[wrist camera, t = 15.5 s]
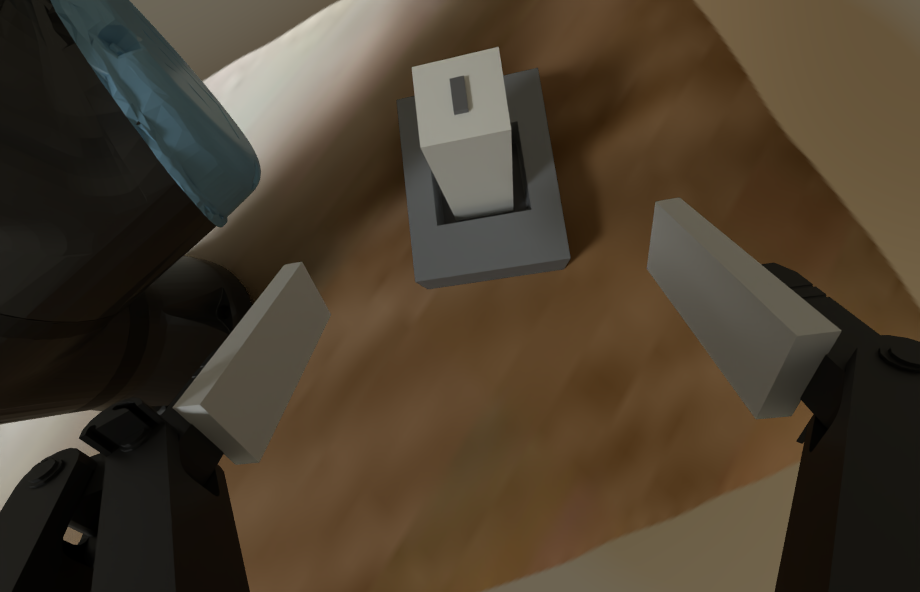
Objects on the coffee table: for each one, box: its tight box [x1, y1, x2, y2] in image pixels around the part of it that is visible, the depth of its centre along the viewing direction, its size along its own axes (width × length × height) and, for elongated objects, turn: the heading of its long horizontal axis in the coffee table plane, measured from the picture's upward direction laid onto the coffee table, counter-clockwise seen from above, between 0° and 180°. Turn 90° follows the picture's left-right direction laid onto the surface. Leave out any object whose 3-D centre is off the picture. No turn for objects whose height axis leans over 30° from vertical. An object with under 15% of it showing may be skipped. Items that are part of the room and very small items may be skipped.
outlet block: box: [397, 68, 570, 289], centre depth 31 cm, size 16×12×4 cm
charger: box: [412, 47, 514, 221], centre depth 25 cm, size 5×5×12 cm
